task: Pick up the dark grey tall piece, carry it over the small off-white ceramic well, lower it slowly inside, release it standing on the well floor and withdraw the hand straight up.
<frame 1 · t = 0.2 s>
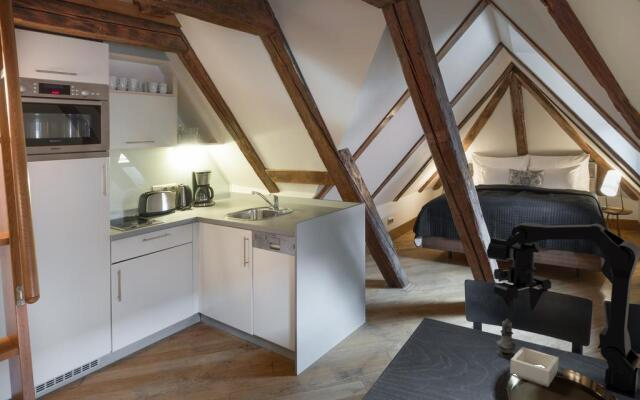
hand: (521, 313, 132), 14 cm above the table, fingers open, 9 cm apart
dark grey tall piece: (505, 355, 135), on the table
well: (534, 373, 124), on the table
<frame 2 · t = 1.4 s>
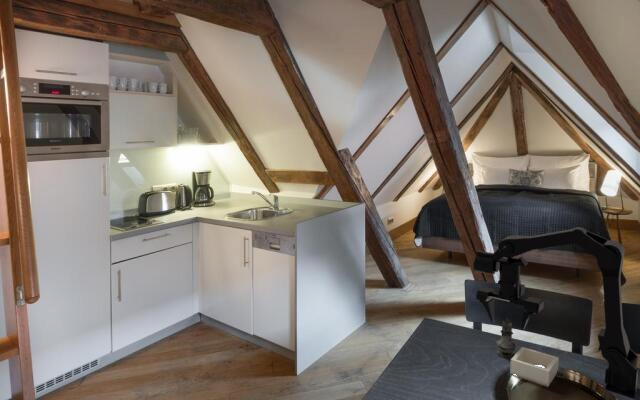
hand: (507, 325, 134), 10 cm above the table, fingers open, 9 cm apart
nothing on the table moved.
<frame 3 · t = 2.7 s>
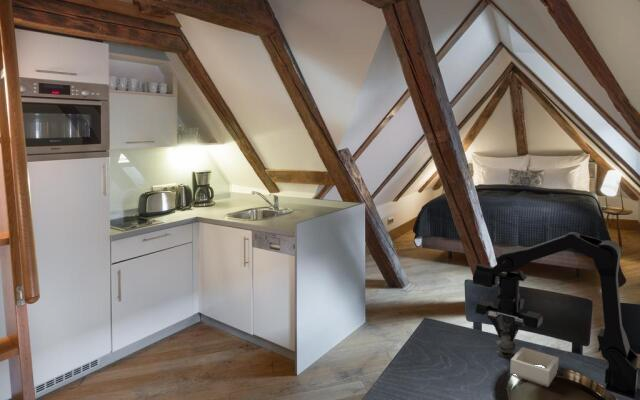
hand: (506, 339, 134), 5 cm above the table, fingers closed on dark grey tall piece, 3 cm apart
dark grey tall piece: (505, 354, 135), on the table, touching gripper
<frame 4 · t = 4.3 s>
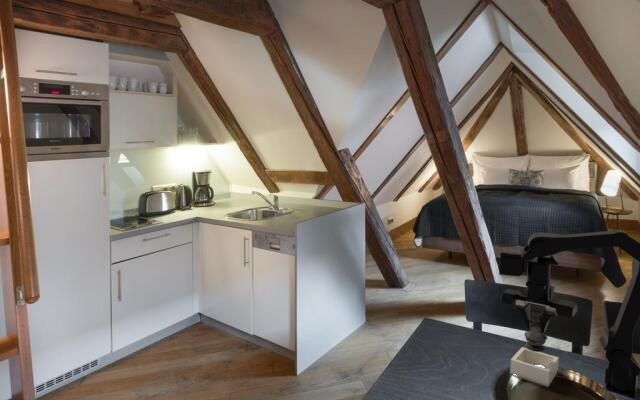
hand: (536, 330, 122), 13 cm above the table, fingers closed on dark grey tall piece, 3 cm apart
dark grey tall piece: (535, 348, 123), point 8 cm above the table, touching gripper
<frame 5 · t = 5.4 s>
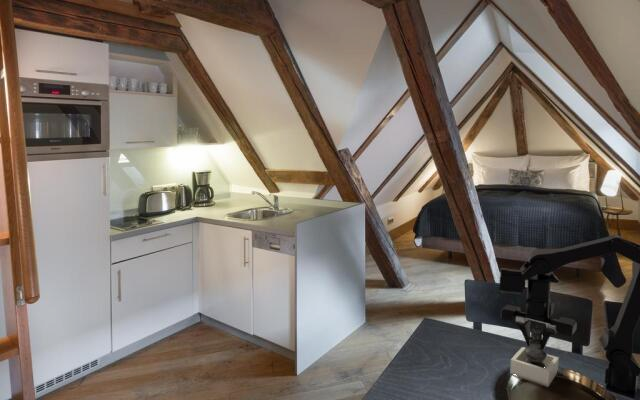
hand: (535, 347, 123), 8 cm above the table, fingers closed on dark grey tall piece, 3 cm apart
dark grey tall piece: (534, 364, 124), point 3 cm above the table, touching gripper
when the fingers open (7 cm above the table, at t = 5.9 s): dark grey tall piece drops 1 cm, resting on well.
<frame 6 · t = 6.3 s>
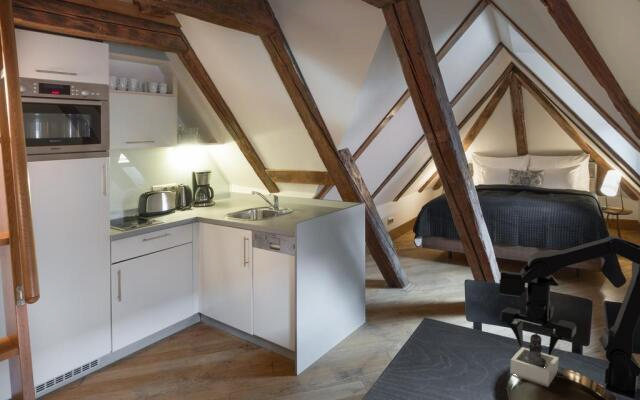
hand: (535, 350, 123), 7 cm above the table, fingers open, 7 cm apart
dark grey tall piece: (534, 371, 124), resting on well
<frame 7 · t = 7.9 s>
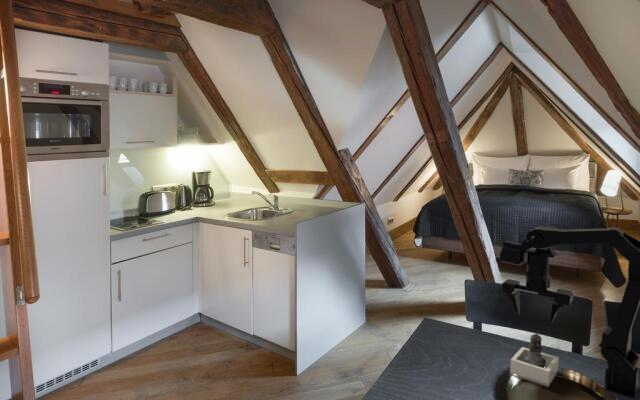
hand: (534, 318, 130), 13 cm above the table, fingers open, 9 cm apart
nothing on the table moved.
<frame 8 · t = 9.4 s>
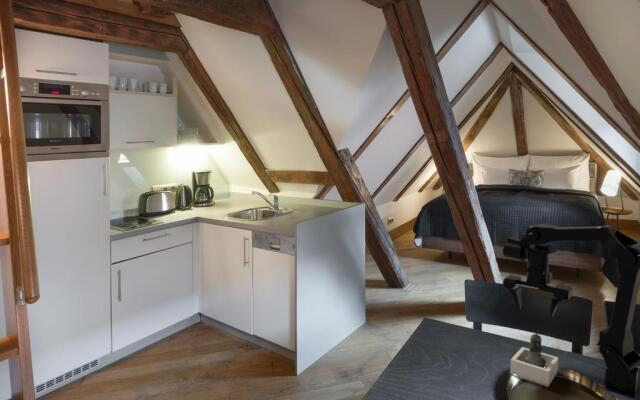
hand: (535, 313, 134), 13 cm above the table, fingers open, 9 cm apart
nothing on the table moved.
at the end: dark grey tall piece 0.0 cm off-centre on the well, point 0.4 cm above the well's base; dark grey tall piece tilted 0°; the gripper is holding nothing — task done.
